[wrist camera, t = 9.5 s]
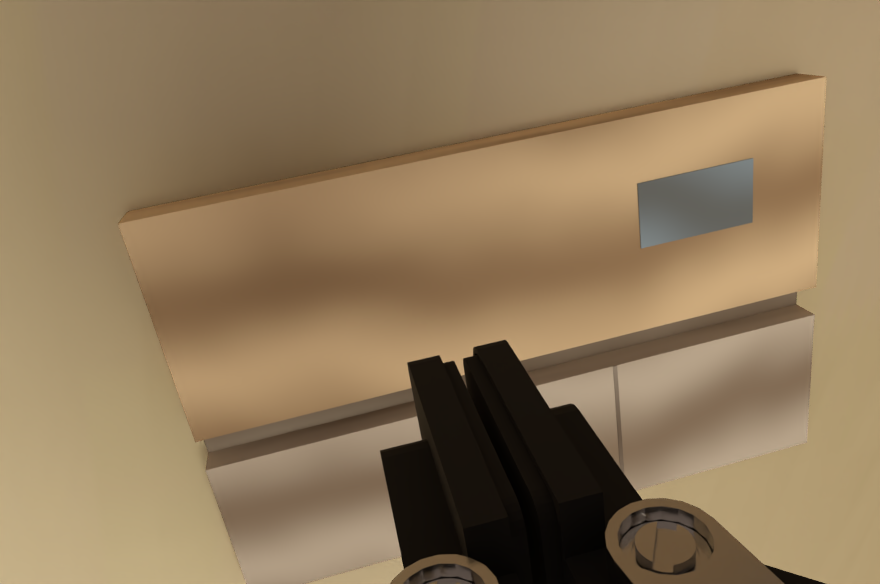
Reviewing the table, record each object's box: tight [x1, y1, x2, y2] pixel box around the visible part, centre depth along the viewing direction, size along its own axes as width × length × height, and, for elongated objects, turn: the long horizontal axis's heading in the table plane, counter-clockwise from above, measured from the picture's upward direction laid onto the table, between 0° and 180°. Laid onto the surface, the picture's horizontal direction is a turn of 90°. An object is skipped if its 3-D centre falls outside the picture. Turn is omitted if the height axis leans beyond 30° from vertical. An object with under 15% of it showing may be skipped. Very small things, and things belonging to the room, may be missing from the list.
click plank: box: [118, 74, 826, 442], centre depth 25 cm, size 8×24×2 cm, turn 100°
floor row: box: [204, 292, 814, 584], centre depth 28 cm, size 7×24×2 cm, turn 99°
